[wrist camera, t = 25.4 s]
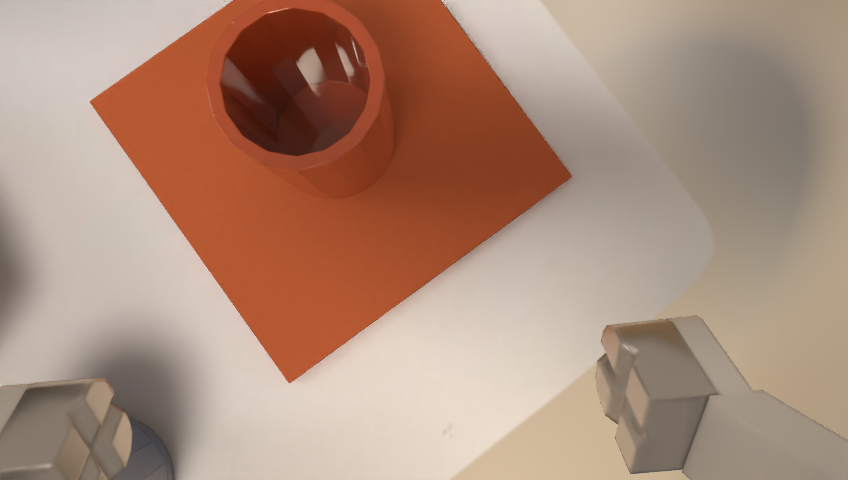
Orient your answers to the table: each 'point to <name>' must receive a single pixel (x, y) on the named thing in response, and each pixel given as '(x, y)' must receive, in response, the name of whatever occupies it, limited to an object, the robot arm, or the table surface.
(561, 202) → the table surface
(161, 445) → the blue cup
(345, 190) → the rust cup
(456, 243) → the rust mat
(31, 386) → the robot arm
